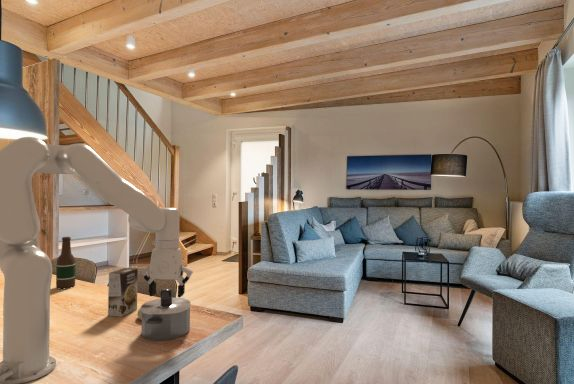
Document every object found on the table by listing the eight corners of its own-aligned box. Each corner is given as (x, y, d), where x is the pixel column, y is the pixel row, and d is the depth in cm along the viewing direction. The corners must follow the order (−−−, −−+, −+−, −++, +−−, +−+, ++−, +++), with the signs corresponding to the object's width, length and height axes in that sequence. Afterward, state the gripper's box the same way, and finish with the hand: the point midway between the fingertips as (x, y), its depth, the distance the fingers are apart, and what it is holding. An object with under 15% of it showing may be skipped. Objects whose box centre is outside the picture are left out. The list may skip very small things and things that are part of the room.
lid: (180, 319, 106) (180, 297, 106) (131, 317, 107) (132, 296, 107) (196, 303, 122) (196, 284, 122) (153, 301, 123) (154, 282, 123)
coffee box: (122, 317, 127) (123, 273, 127) (107, 315, 128) (107, 272, 128) (137, 309, 135) (138, 268, 135) (123, 307, 137) (124, 267, 137)
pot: (176, 344, 104) (176, 318, 104) (128, 342, 106) (129, 316, 106) (198, 321, 124) (198, 298, 124) (157, 319, 125) (158, 297, 125)
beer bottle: (57, 285, 166) (58, 236, 166) (76, 284, 170) (76, 235, 170) (54, 290, 159) (55, 238, 159) (74, 288, 163) (74, 237, 163)
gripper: (136, 245, 112) (136, 298, 112) (188, 247, 110) (187, 300, 110) (148, 242, 119) (147, 291, 119) (196, 243, 118) (195, 293, 118)
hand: (166, 295), depth 115 cm, fingers open, 9 cm apart
